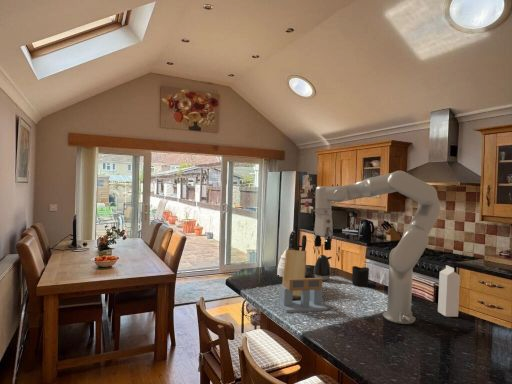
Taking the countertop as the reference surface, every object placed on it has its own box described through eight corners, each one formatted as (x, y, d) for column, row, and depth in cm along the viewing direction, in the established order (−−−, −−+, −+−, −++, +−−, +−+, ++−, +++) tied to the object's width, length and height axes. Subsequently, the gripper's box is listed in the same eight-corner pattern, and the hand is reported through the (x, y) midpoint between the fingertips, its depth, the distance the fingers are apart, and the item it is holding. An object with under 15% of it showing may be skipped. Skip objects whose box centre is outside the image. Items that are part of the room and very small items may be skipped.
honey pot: (299, 277, 207) (300, 248, 207) (278, 277, 206) (279, 248, 206) (295, 272, 220) (296, 245, 220) (275, 272, 219) (277, 244, 219)
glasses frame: (321, 289, 155) (322, 278, 155) (289, 290, 151) (289, 279, 151) (313, 283, 164) (314, 273, 163) (282, 284, 160) (283, 274, 160)
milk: (449, 312, 157) (452, 265, 157) (458, 317, 151) (460, 268, 151) (437, 311, 157) (439, 264, 156) (445, 316, 151) (447, 268, 150)
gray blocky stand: (327, 310, 153) (328, 290, 153) (286, 312, 148) (287, 292, 148) (317, 301, 164) (318, 283, 164) (278, 303, 159) (279, 285, 159)
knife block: (305, 282, 197) (307, 230, 196) (303, 302, 162) (306, 239, 161) (286, 281, 199) (288, 229, 198) (280, 300, 164) (282, 237, 163)
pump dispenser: (332, 282, 200) (333, 257, 199) (315, 281, 200) (316, 256, 200) (328, 277, 210) (329, 253, 210) (312, 277, 210) (313, 252, 210)
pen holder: (359, 281, 203) (359, 265, 203) (371, 286, 195) (372, 269, 195) (348, 283, 198) (348, 266, 198) (360, 288, 190) (361, 270, 190)
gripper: (339, 213, 152) (339, 251, 152) (321, 211, 168) (321, 244, 168) (324, 213, 149) (324, 251, 150) (308, 211, 166) (307, 245, 166)
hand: (322, 248), depth 159 cm, fingers open, 9 cm apart
